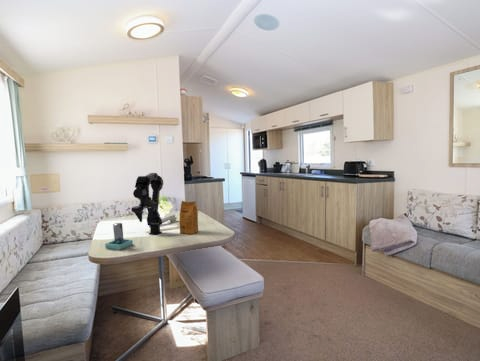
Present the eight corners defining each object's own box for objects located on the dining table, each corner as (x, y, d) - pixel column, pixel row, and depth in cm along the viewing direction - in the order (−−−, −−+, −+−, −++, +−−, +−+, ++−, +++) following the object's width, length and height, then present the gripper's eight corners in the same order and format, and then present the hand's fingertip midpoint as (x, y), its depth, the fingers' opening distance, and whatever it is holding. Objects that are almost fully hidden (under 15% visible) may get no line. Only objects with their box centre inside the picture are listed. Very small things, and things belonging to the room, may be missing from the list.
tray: (119, 243, 176) (118, 238, 175) (132, 244, 172) (132, 239, 172) (105, 248, 166) (105, 243, 165) (119, 250, 162) (119, 245, 162)
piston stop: (122, 243, 172) (120, 222, 171) (125, 245, 169) (123, 223, 167) (113, 245, 169) (111, 224, 168) (116, 247, 165) (114, 225, 164)
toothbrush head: (147, 222, 212) (172, 212, 232) (149, 231, 214) (173, 219, 233) (152, 223, 209) (177, 212, 229) (153, 231, 211) (178, 220, 230)
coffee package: (185, 229, 202) (183, 199, 200) (200, 231, 198) (199, 200, 196) (177, 233, 193) (175, 202, 191) (193, 235, 189) (191, 202, 187)
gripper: (145, 198, 166) (146, 224, 167) (164, 194, 183) (165, 217, 185) (130, 198, 170) (131, 223, 171) (150, 193, 187) (151, 216, 188)
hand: (146, 220), depth 179 cm, fingers open, 9 cm apart
